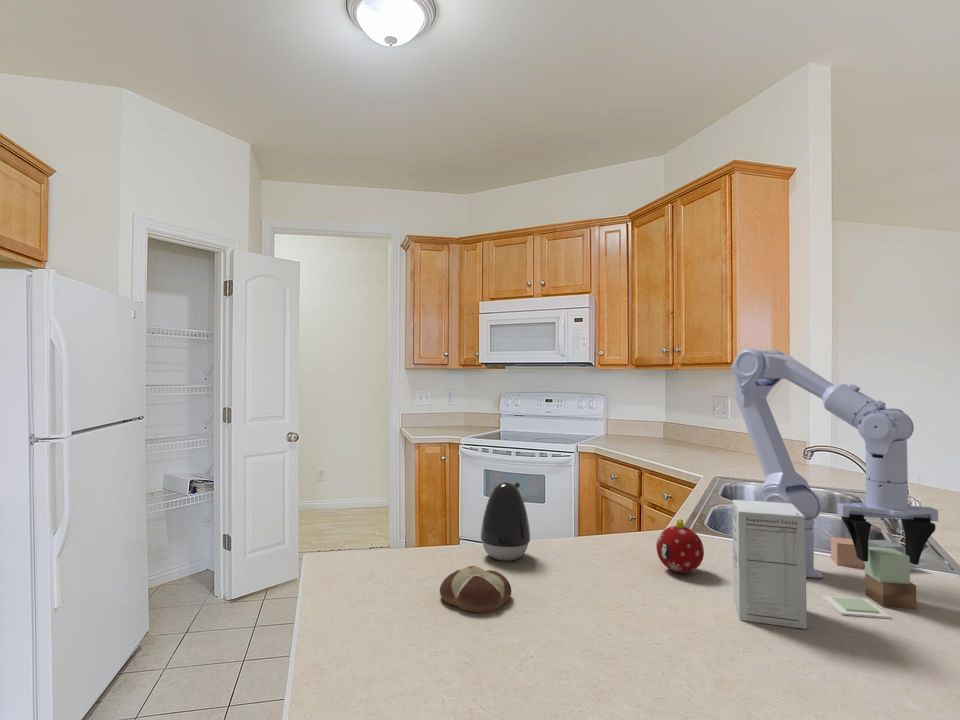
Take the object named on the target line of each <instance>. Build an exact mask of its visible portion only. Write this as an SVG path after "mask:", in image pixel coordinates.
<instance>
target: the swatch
mask: <svg viewBox="0 0 960 720" xmlns="http://www.w3.org/2000/svg"><path fill="white" fill-rule="evenodd" d="M820 598H821V599H823V600H824V601H825V602H826V603H827V604H829V605H830V606H831V607H832V608H833V609H834V610H835V611H837V613H839V614H840V615H842V616H851V617H863V618H864V617H865V618H878V619H888V620H889V619H890V620H891V619H892V617H891V615H889V614H888V613H887V612H885V611H884V610H882V609H881V608H880V607H879V606H877V605H876V604H874V603H873V602H872V601H870V600H869V599H867V598H856V597H846V596H845V597H844V596H830V595H821V597H820Z"/></svg>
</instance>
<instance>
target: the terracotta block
mask: <svg viewBox="0 0 960 720" xmlns="http://www.w3.org/2000/svg"><path fill="white" fill-rule="evenodd" d="M830 559H831V560H832V561H833V562H834V563H835V565H836V566H842V567H849V568H860V569H865V561H862V560H860V559H858V558H857V554H856V550H855V547H854V543H853V540H852V538H845V537H844V538H843V537H833V536H830Z"/></svg>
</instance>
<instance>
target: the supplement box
mask: <svg viewBox="0 0 960 720" xmlns="http://www.w3.org/2000/svg"><path fill="white" fill-rule="evenodd" d="M731 505H732V506H731V507H732V562H733V563H732V568H733V572H732V573H733V576H732V577H733V602H734V606H735V608H736V613H737V615H738V619H739V621H744V622H752V623H758V624H767V625H773V626H782V627H789V628H796V629H803V630H807V629H808V616H807V615H808V613H807V605H808V604H807V577H806V556H805V517H804V515H803V514H802V513H801V512H800V511H799V510H798V509H797V508H796V507H795V506H794V505H793V504H790V503H776V502H763V501H759V500H758V501H757V500H741V499H732V503H731Z"/></svg>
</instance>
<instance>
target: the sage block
mask: <svg viewBox="0 0 960 720" xmlns="http://www.w3.org/2000/svg"><path fill="white" fill-rule="evenodd" d="M910 568H911V563H910V556H908V555H906V554H905V552H904V553H902V552H900V551H898V550H896V549H894V548H881V547H868V562H866V561H864V574H865V573H866V574H868V575H869V576H871V577H872V578H874V579H876V580H877V581H879V582H883V583H899V584H910V582H911V569H910Z"/></svg>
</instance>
